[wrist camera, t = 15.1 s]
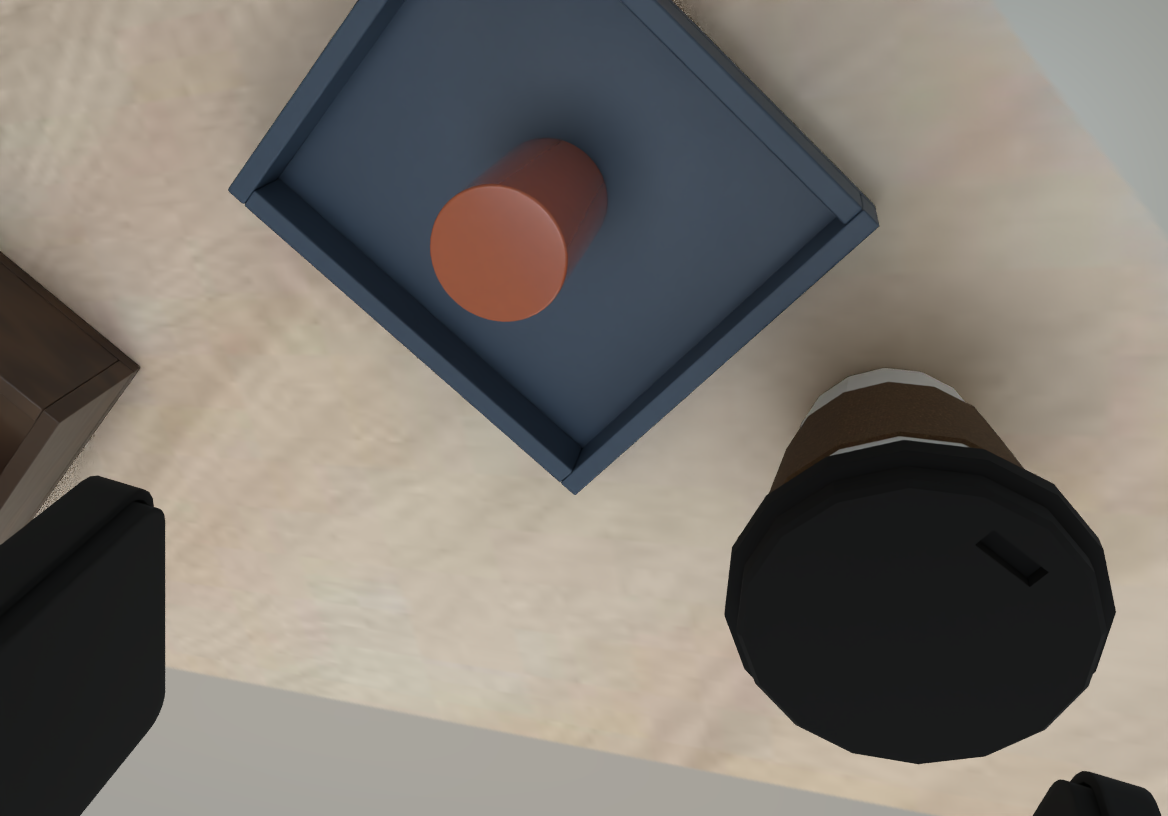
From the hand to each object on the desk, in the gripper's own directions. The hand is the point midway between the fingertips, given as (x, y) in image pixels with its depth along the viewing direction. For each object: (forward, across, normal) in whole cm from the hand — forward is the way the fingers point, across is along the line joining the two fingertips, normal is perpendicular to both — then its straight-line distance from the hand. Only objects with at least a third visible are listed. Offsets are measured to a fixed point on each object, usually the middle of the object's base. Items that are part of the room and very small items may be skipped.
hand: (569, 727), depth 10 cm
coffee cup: (+28, -8, +9) cm, 31 cm away
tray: (+28, +6, +3) cm, 29 cm away
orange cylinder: (+28, +6, +3) cm, 29 cm away
